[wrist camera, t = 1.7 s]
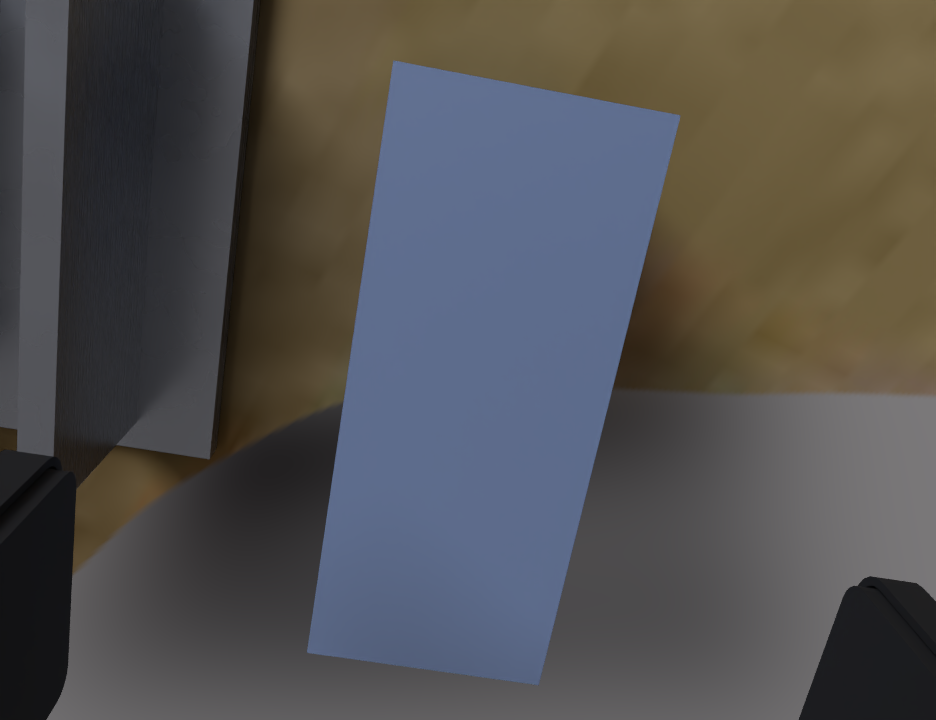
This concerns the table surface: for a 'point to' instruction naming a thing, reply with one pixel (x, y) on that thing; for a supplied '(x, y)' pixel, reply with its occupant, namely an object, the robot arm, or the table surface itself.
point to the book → (481, 367)
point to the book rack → (119, 220)
